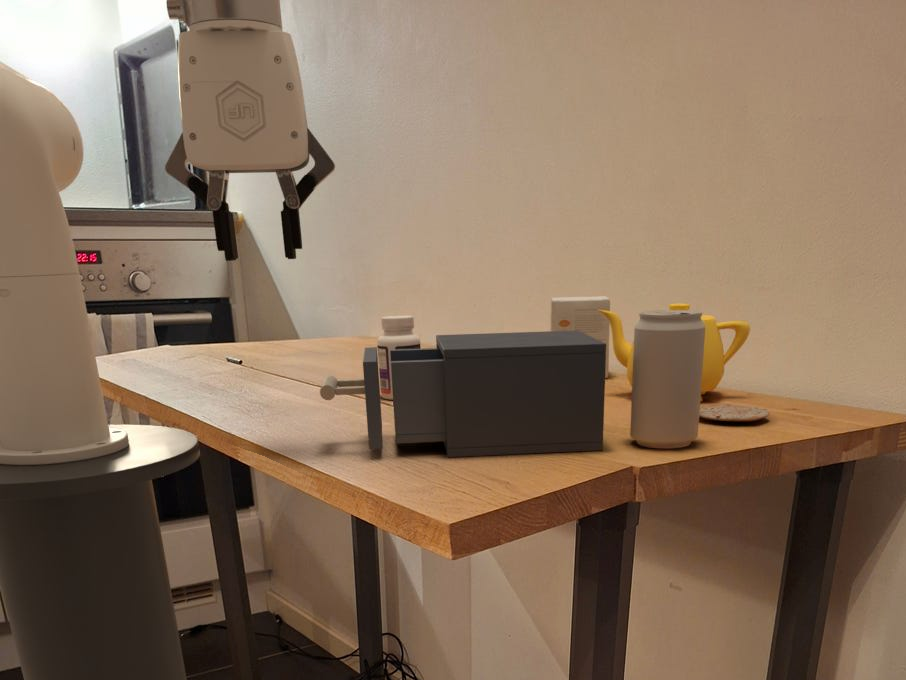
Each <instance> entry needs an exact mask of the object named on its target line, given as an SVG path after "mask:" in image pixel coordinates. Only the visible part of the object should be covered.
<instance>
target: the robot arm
mask: <svg viewBox="0 0 906 680" xmlns="http://www.w3.org/2000/svg"><path fill="white" fill-rule="evenodd" d="M165 2H166V11H167V15H168V17H169V20H178V21H179V22H183V23H184V24H185V26H187V28H188V31H187V30H186V31H182V32H180V33H179V34H178V44H177V46H178V47H177V68H178V69H177V70H178V71H177V73H178V91H179V92H178V93H179V94H178V95H179V105H180V106H179V107H180V118H181V129H182V130H181V131H182V132H181V134H180V136H179V138H178V140H177V142H176V144H175V145H174V147H173V149H172V151H171V153H170V155H169V156H168V159H167V161H166V162H165V165H164V170H165V172H166V173H167V174H168V176H170V177H172V178H174V180H176V181H177V182H179V183H180V184H182V185H183V186H184V187H186V188H187V189H188V190H190V192H192V194H194V195H195V196H196V197H197V198H199V200H200V201H201V202H203V204H204V205H206V206H207V207H208V209H209V210H211V212H212V218H213V220H212V221H213V227H214V233H215V241H216V243H215V244H216V249H217V251H218V252H224V259H225V262H230V261H236V260H237V259H239V251H238V244H237V243H238V242H237V236H236V235H237V234H236V228H235V219H234V213H233V212H232V211H231V210H230V205H229V203H228V202H227V198H228V190H229V181H230V174H251V173H252V174H254V173H255V174H256V173H275V175H276V177H277V181H278V185H279V187H280V189H281V193H282V196H283V199H284V200H283V201H282V210H280V219H281V230H282V239H283V248H284V257H285V258H286V259H287V260H296V259H297V251H296V250H302V249H303V239H302V238H303V237H302V229H301V227H302V226H301V217H300V209H301V208H302V206H303V204H304V203H305V202H306V201H307V200H308V198H309V197H310V196H311V195H312V193H313V192H314V191H315V190H316V188H317V187H318V186H319V185H320V184H322V183H323V182H324V181H326V179H327V178H329V176H331V175H332V174H333V173H334V171H335V170H336V164H335V162H334V161H333V159H332V158H331V157H330V155H329V154H328V153H327V151H326V149H324V147H323V146H322V145H321V143H320V142H319V141H318V139H317V138H316V137H315V135H314V134H313V132H312V131H311V130H310V128H309V127H308V121H307V111H306V105H305V98H304V97H305V96H304V92H303V90H304V89H303V85H302V84H303V83H302V79H301V72H300V67H299V62H298V57H297V53H296V48H295V45H294V41H293V39H292V34H291V33H289V32H287V31H284V30H283V21H282V10H281V0H166V1H165ZM84 153H85V152H84V142H83V136H82V133H81V130H80V128H79V125H78V123H77V122H76V119H75V117H74V116H73V114H72V112H71V111H70V109H69V108H68V106H66V104H65V103H64V102H63V101H62V100H61V98H59V97H58V96H57V95H55V93H53V92H52V91H51V90H49V89H48V88H46V87H45V86H43V85H42V84H40V83H38V82H36V81H35V80H33V79H31V78H29V77H28V76H26V75H24V74H23V73H20V72H19V71H17V70H16V69H14V68H12V67H11V66H9V65H7V64H5V63H4V62H2V61H0V464H3V465H18V466H29V465H49V464H60V463H69V462H76V461H82V460H88V459H93V458H98V457H102V456H106V455H110V454H113V453H116V452H119V451H121V450H123V449H125V448H126V447H127V446H128V445H129V440H128V435H127V433H126V432H124V431H123V430H119V429H114V428H109V426H108V425H109V421H108V416H107V410H106V405H105V399H104V394H103V389H102V384H101V378H100V373H99V369H98V363H97V359H96V352H95V347H94V342H93V335H92V330H91V325H90V321H89V316H88V309H87V305H86V299H85V294H84V289H83V284H82V278H81V274H80V269H79V264H78V259H77V254H76V253H77V252H76V249H75V244H74V240H73V235H72V231H71V228H70V224H69V220H68V217H67V214H66V210H65V207H64V204H63V201H62V198H61V195H60V192H63V191H64V190H66V189H67V188H68V187H69V186H71V185H72V184H73V183H74V182H75V180H76V179H77V177H78V176H79V173H80V172H81V170H82V166H83V161H84ZM310 157H311V158H312V159H313V161H314V166H313V167H312V168H311V169H310V170H309V171H308V172H307V173H306V174H304V175H303V176H302V177H301V179H300V180H299V181H298V182H296V178H295V175H294V172H297V171H300V170H303V169H305V167H307V166H308V164H309V163H310ZM188 163H189V164H190V165H191V166H193V167H195V168H197V169H200V170H203V171H204V172H208V173H209V174H208V183H206V181H204V180H203V179H202V178H201V177H199V176H198V175H196V174H195V173H193V172H192V171H191V170H190V169H189V167H188Z"/></svg>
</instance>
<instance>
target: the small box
mask: <svg viewBox="0 0 906 680" xmlns="http://www.w3.org/2000/svg"><path fill="white" fill-rule="evenodd" d="M598 309H599V310H605V311H610V312H611V299H610V298H609V297H607V296H605V295H602V296H599V295H598V296H597V295H596V296H567V297H563V296H562V297H550V329H549V331H575V330H578V331H580V332H582V333H584V334H587V335H589V336H591V337H593V338H595V339H597V340H599V341H601V342H603V343H606V352H605V353H606V366H605V379H608V378H609V368H610V367H609V361H610V360H609V359H610V353H609V352H610V327H611V325H610V322H609V320H608V319H607V317H606V316H605V315H604V314H603V313H601V312H600V311H599V310H598Z"/></svg>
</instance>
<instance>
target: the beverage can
mask: <svg viewBox="0 0 906 680" xmlns="http://www.w3.org/2000/svg"><path fill="white" fill-rule="evenodd" d="M702 315H703V312H702V311H700V310H690V309H689V310H670V309H655V310H645V311H641V312H639V313H638V317H639V319H638V321H637V323H636V324H635V326H634V328H633V329H634V330H633V332H634V333H633V336H634V337H633V340H634V354H633V378H632V387H631V404H630V406H631V407H630V428H629V429H630V431H629V435H630V438H632V439H633V440H634V441H635V442H636V444H637V445H639V446H641V447H645V448H650V449H651V448H652V449H665V450H666V449H667V450H668V449H681V448H686V447H688V446H690V445H691V443H692V442H693V441H694V440H696V439H697V438H698V436H699V426H700V425H699V424H700V417H699V412H700V408H701V401H700V397H702V394H701V383H702V369H703V355H704V341H705V325H704V323H703V321H702V319H701V316H702Z"/></svg>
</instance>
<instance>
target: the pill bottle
mask: <svg viewBox="0 0 906 680" xmlns="http://www.w3.org/2000/svg"><path fill="white" fill-rule="evenodd" d="M414 319H415V318H414V315H388V316H382V317H381V318H380V321H381V330H382V331H383V334H382V335H380V336H379V337H378V338H377V343H376V345H377V346H376V347H377V357H378V372H379V387H380V397H381V398H383V399H384V400H390V401H391V400H392V401H393V389H392V373H391V357H390V350H395V349H422V348H421V339H420V337H419V335H417V334H415V333H414V332H413V329H415V320H414Z"/></svg>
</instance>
